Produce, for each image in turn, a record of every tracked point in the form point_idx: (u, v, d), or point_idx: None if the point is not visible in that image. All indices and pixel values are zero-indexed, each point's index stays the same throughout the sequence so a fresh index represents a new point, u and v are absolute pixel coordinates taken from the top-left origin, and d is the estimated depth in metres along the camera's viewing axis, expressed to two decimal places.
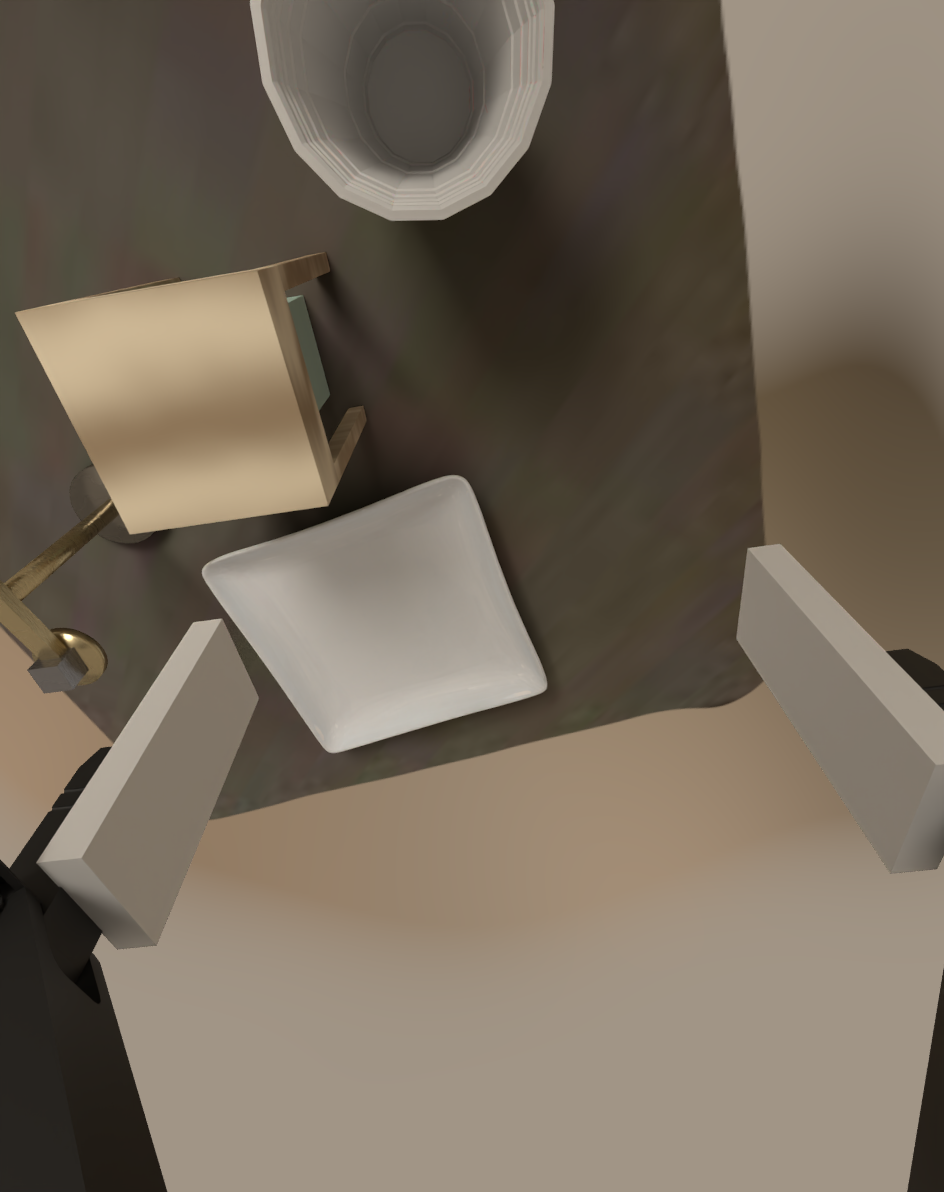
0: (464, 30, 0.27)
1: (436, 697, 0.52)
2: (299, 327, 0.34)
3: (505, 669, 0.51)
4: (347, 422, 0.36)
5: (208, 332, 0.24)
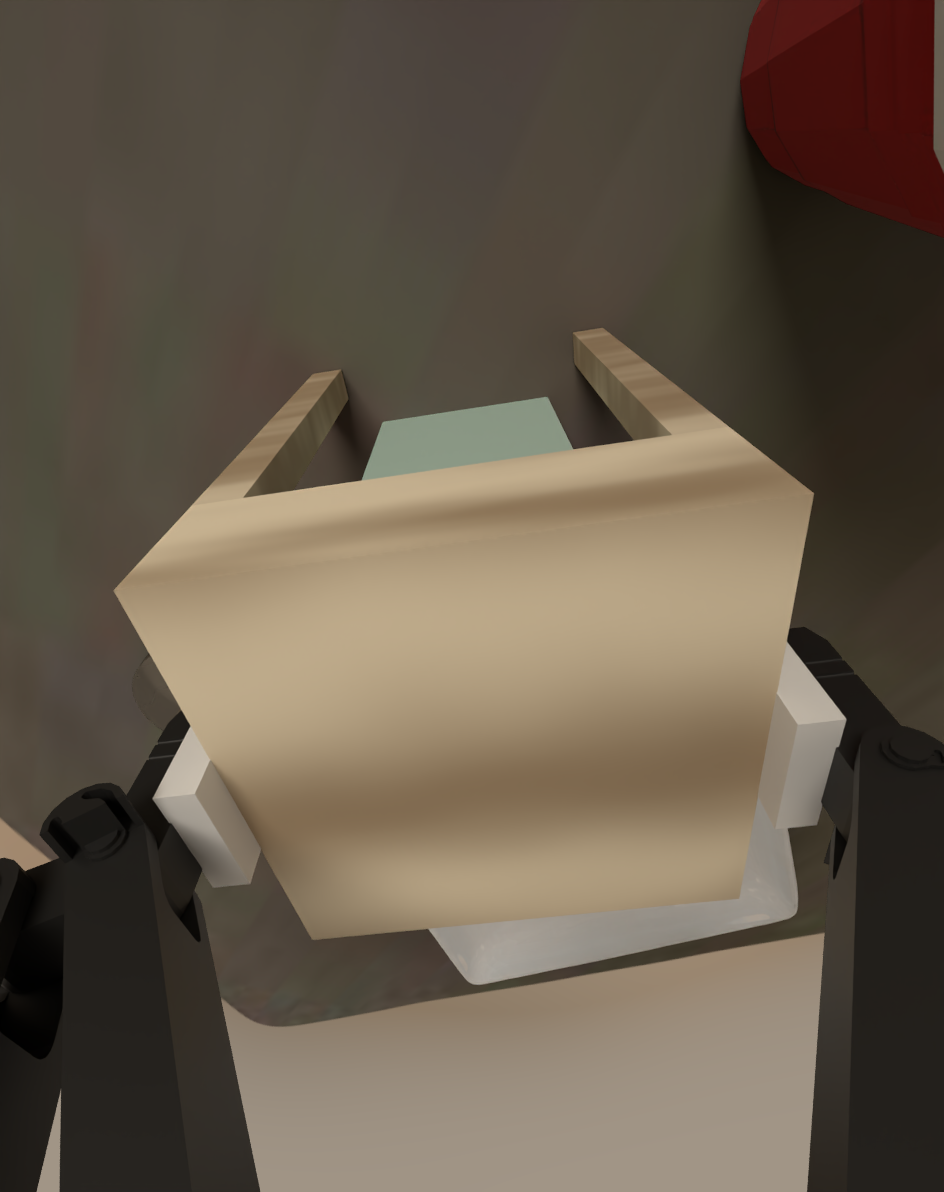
0: None
1: (627, 915, 0.37)
2: None
3: None
4: None
5: (614, 627, 0.09)
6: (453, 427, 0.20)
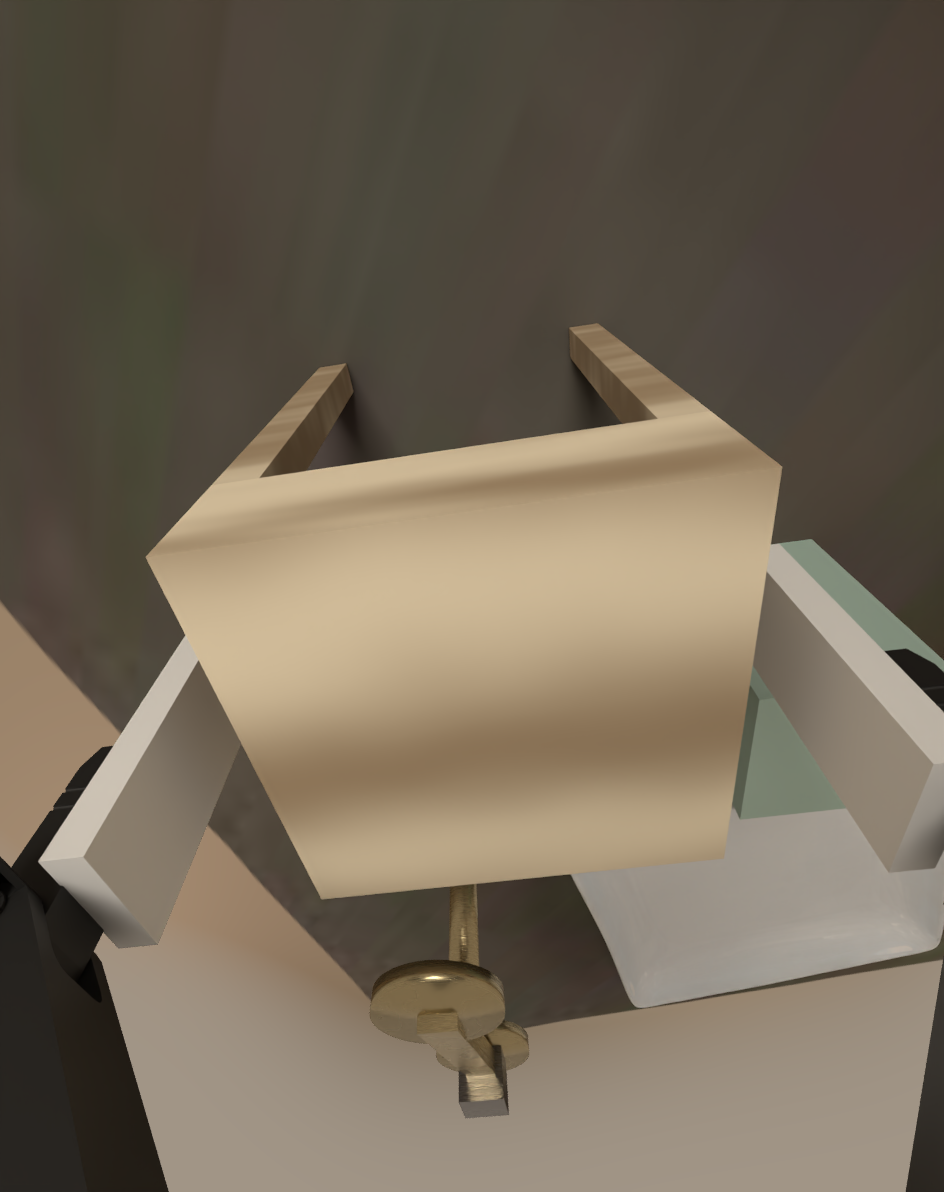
0: None
1: (780, 946, 0.42)
2: None
3: (875, 917, 0.41)
4: None
5: (602, 592, 0.10)
6: None
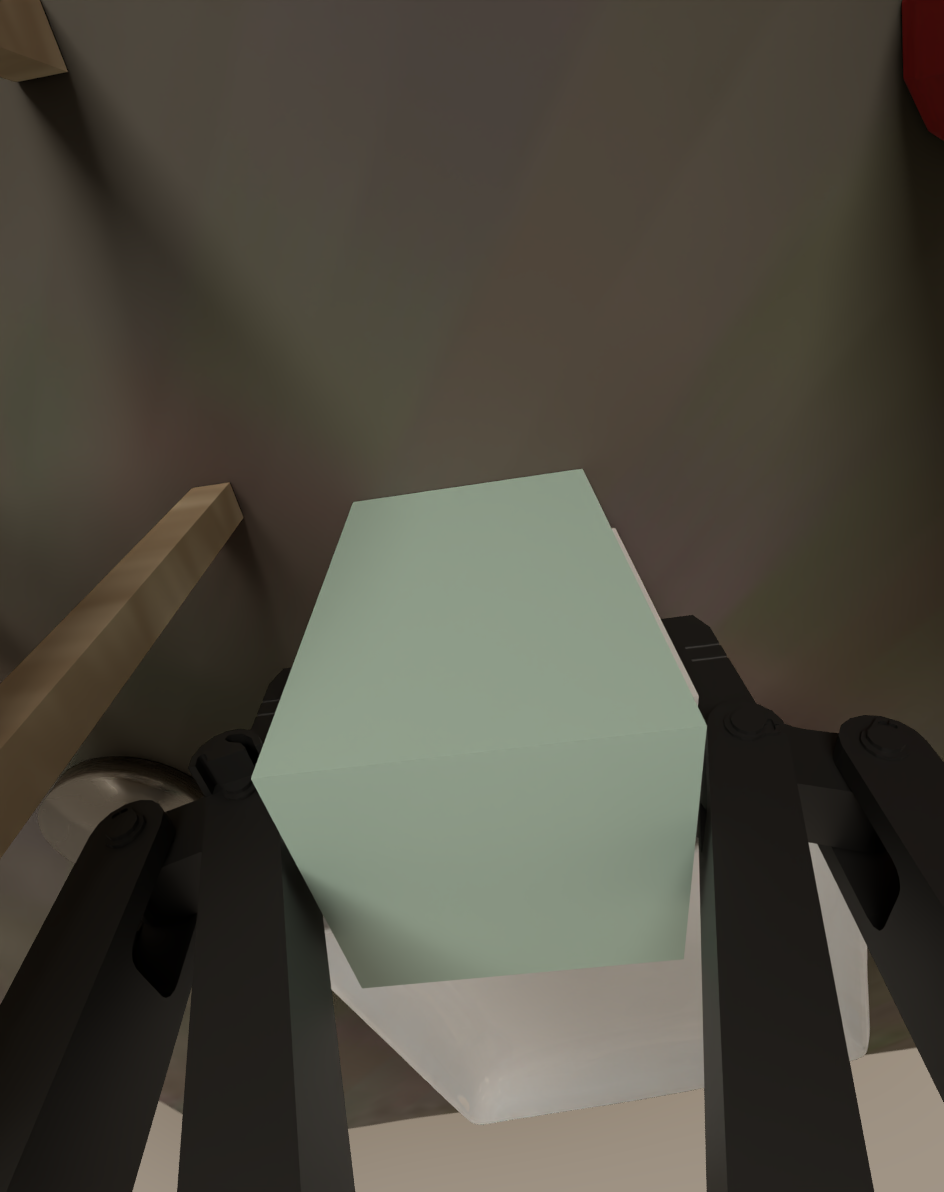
0: None
1: (659, 1047, 0.31)
2: None
3: None
4: (149, 552, 0.12)
5: None
6: (450, 520, 0.14)
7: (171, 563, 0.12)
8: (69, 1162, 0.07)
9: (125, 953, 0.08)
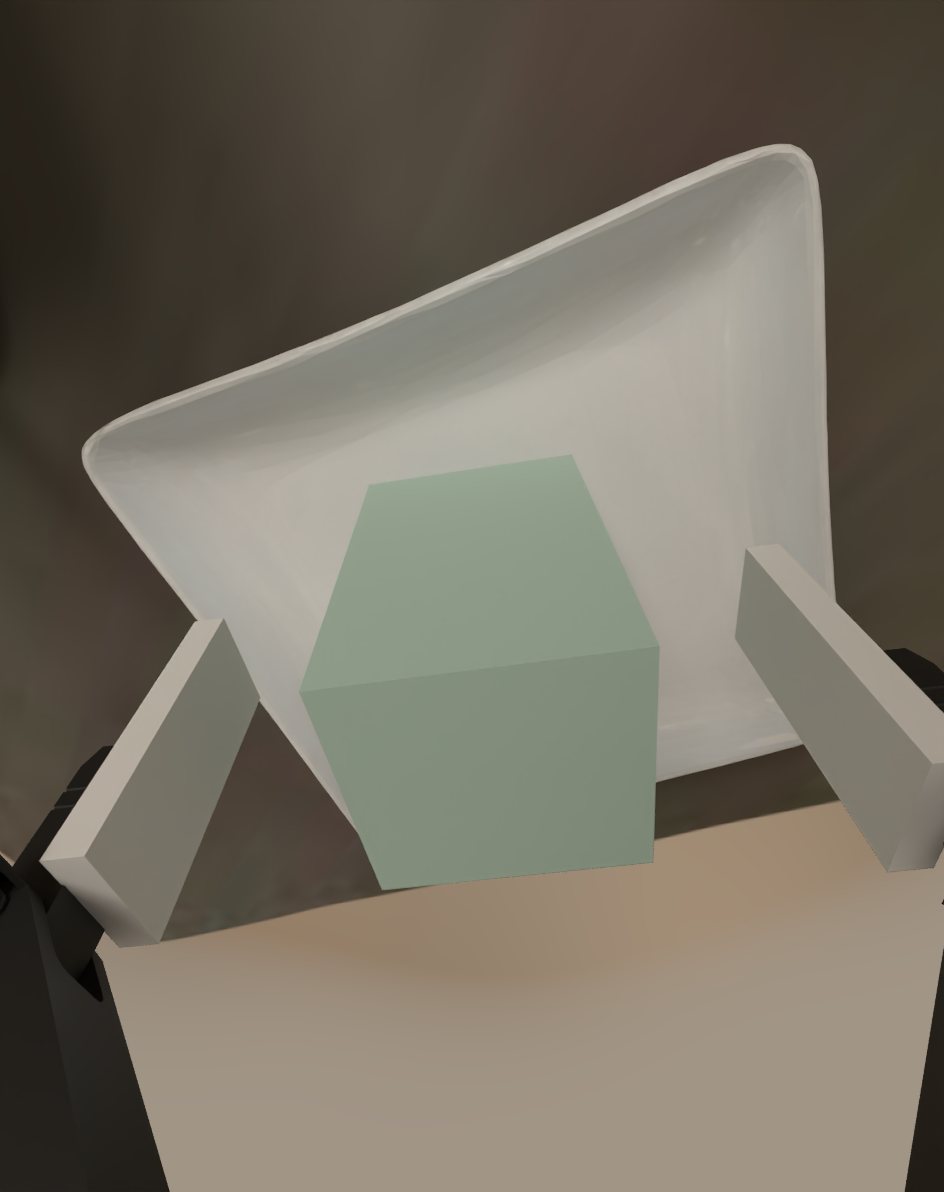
0: None
1: None
2: None
3: (739, 689, 0.25)
4: None
5: None
6: (455, 498, 0.16)
7: None
8: None
9: None
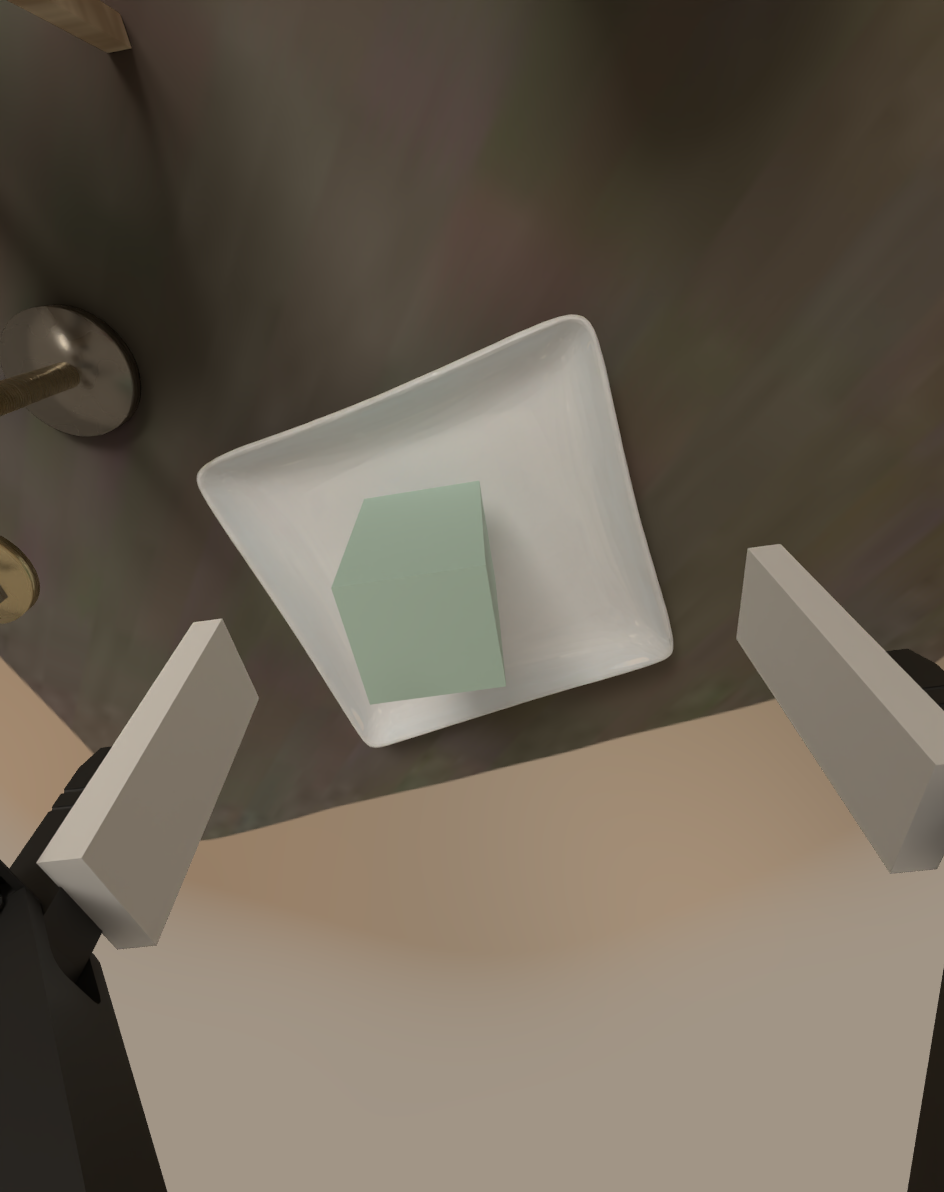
0: None
1: (516, 669, 0.38)
2: (485, 529, 0.28)
3: (612, 629, 0.37)
4: None
5: None
6: (411, 505, 0.28)
7: None
8: None
9: None
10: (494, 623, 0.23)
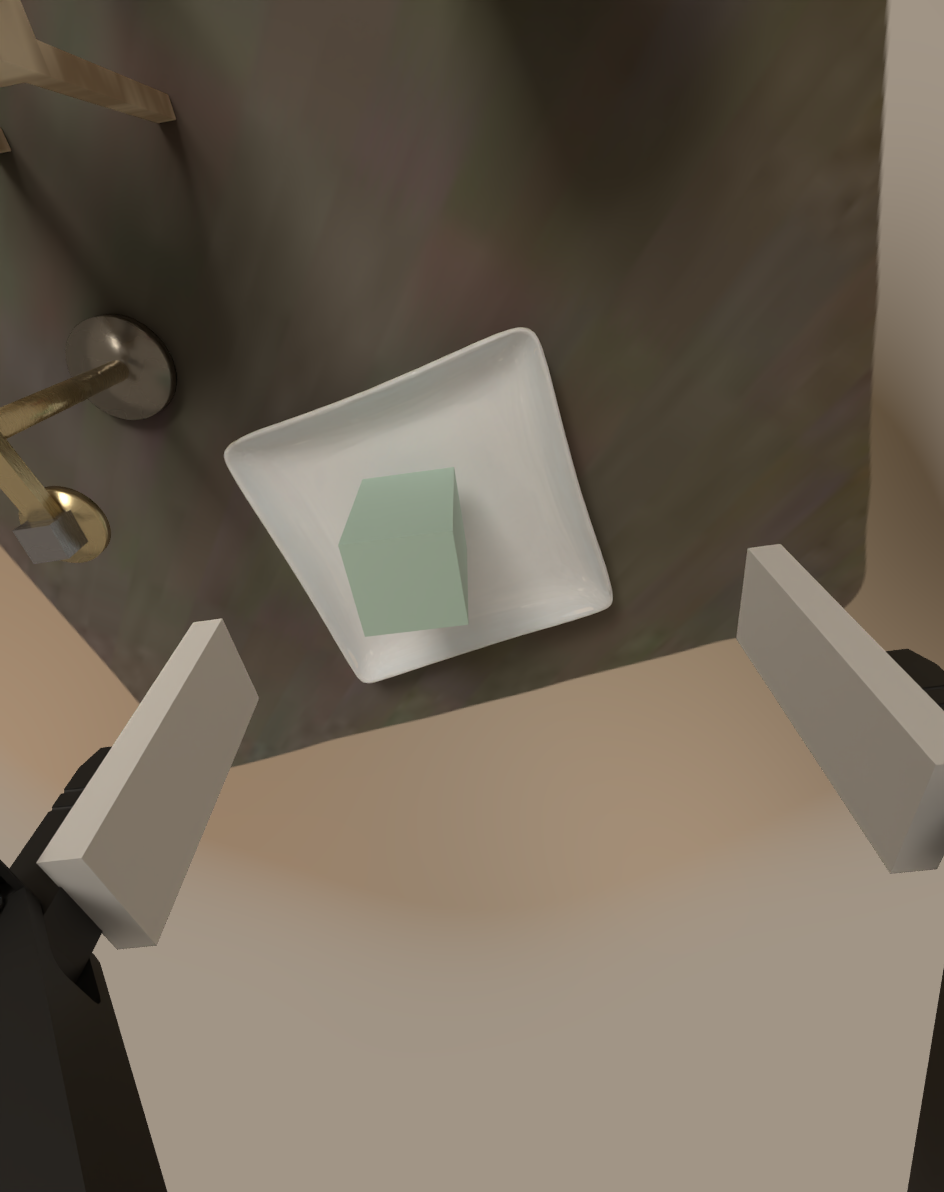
0: None
1: (484, 617, 0.46)
2: (457, 505, 0.36)
3: (563, 583, 0.45)
4: None
5: None
6: (399, 485, 0.36)
7: (134, 85, 0.26)
8: None
9: None
10: (459, 575, 0.32)
